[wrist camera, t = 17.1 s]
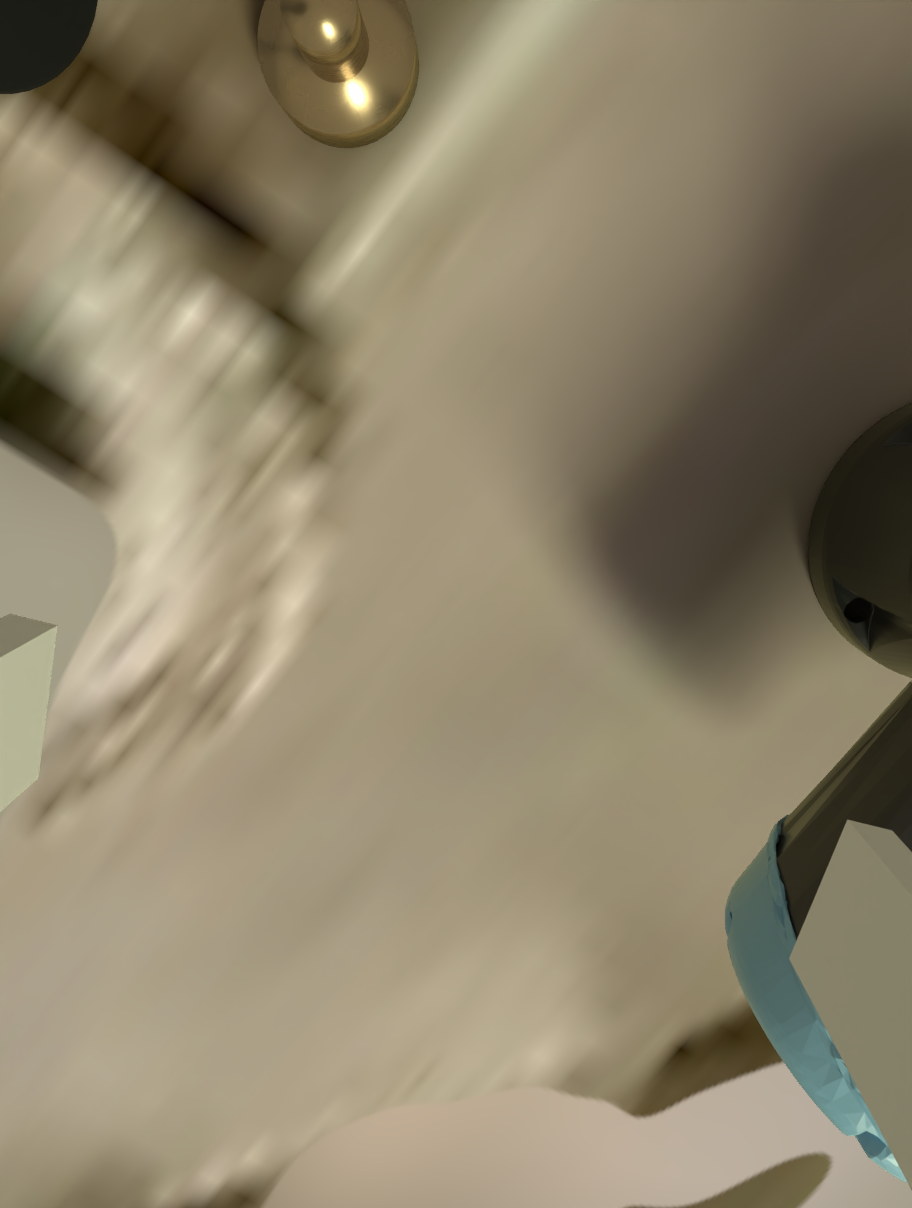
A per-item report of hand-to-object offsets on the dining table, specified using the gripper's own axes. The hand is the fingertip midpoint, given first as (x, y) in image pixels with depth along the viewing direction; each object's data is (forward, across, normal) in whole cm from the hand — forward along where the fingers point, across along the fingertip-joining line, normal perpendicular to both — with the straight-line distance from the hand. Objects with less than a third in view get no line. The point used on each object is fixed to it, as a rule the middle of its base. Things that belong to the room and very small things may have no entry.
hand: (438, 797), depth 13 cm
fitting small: (+32, +11, -19) cm, 39 cm away
